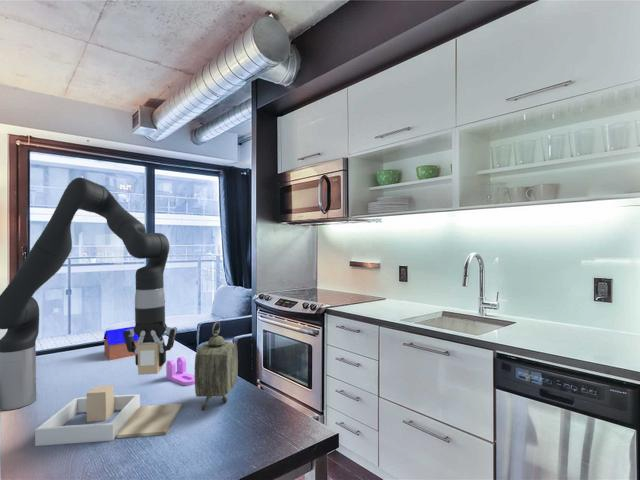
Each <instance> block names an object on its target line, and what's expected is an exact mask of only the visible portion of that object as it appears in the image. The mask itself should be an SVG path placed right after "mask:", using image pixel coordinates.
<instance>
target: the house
mask: <svg viewBox="0 0 640 480" xmlns="http://www.w3.org/2000/svg"><path fill="white" fill-rule="evenodd" d="M134 327H135V326H129V327H122V328H115V329H108V330H105V332H104V336H103V339H102V340H104V343H103V344H104V349H103V350H104V356H105V357H106V358H107V359H108V361H114V360H118V359H124V358H129V357H134V356H135V353H133V352H128V350H127V346H126V342H125V339H124V335H123V332H124V331H126V330H127V329H134ZM133 339H134V343H135V346H136V347H137V342H138V340H139V337H138V336H137V335H136V334H135V332H134V336H133Z"/></svg>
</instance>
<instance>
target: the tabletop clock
mask: <svg viewBox="0 0 640 480" xmlns="http://www.w3.org/2000/svg"><path fill="white" fill-rule="evenodd" d="M217 324H218V329H217V330H215V326H216V325H217ZM220 330H221V323H220V321H219V320H217V321H214V322H213V325H212V327H211V333H212V336H211V337H210V338H209V340H208V341H207V342H205V343H203V344H202V345H201V346H200V348H198V349H197V351H196V353H195V359H194V376H195V384H194V391H195V397H199V398H200V397H202V398H203V397H204V398H205V400H204V404H202V405H200V410H201V411H206V409H207V403H208V402H209V400H210V399H211V398H213V397H215V398H217V397H219V398H221V397H222V399H221V402H222V403H223V404H225V403H227V402H228V398H227V397H226V395H228V394H230V392H231V391H232V390H233V389H234V387H235V385H236V384H237V381H238V376H239V375H238V372H239V371H238V369H239V368H238V367H239V365H238V364H239V363H238V362H239V361H238V360H239V359H238V346H237V344H235V343H234V342H232V341H225V339H224V337H223V336H220V335H219V333H220V332H221V331H220Z"/></svg>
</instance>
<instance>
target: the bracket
mask: <svg viewBox="0 0 640 480" xmlns="http://www.w3.org/2000/svg"><path fill="white" fill-rule="evenodd" d="M165 368H166V380H169V381H172V382H174V383H176V384H179V385H182V386H186V387H188V386H195V374H191V373H188V372H187V360H186V358H185V357H184V356H180V357H178V358H176V361H175V360H174V359H169V360H166V362H165Z"/></svg>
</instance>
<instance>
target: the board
mask: <svg viewBox="0 0 640 480" xmlns="http://www.w3.org/2000/svg"><path fill="white" fill-rule="evenodd" d="M182 407H183V403H171V404H166V403H165V404H154V405H140V407H139V408H138V410H137V411H136V412H135V413H134V414H133V416H132V417H131V418H130V419H129V421H128V422H127V423H126V424H125V425H124V427H123V428H122V429H121V430H120V432H119V433H118V434H117V436H116V439H118V438H119V439H124V438H137V437H149V436H150V437H151V436H165V435H167V433H168V432H169V430H170V428H171V426H172V425H173V423H174V421H175V419H176V418H177V416H178V414H179V413H180V411H181V409H182Z"/></svg>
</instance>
